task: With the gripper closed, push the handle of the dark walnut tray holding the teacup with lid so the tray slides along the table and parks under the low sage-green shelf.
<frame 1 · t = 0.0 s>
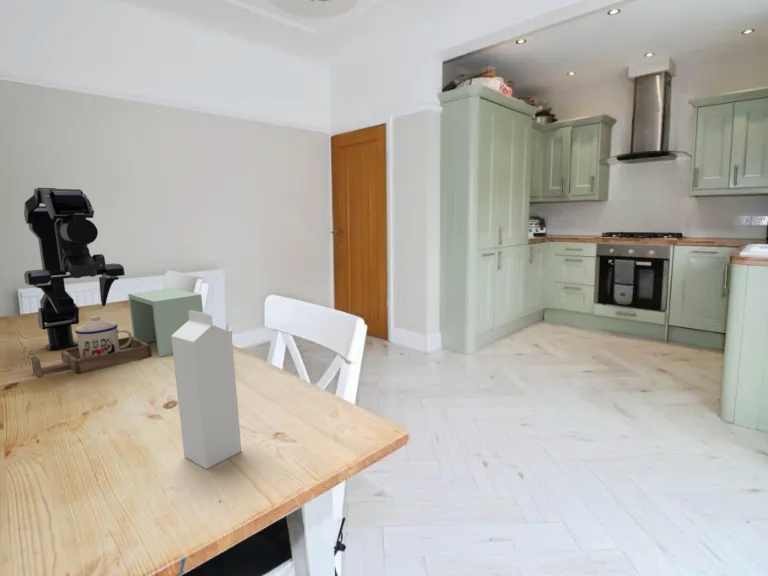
hand: (81, 309, 104), 15 cm above the table, tool pointing down, fingers open, 9 cm apart
tray: (91, 354, 110), point 2 cm above the table, slide at 0.0 cm
milk: (213, 455, 66), on the table
shelf: (169, 345, 124), on the table
teacup with lid: (107, 359, 113), resting in tray
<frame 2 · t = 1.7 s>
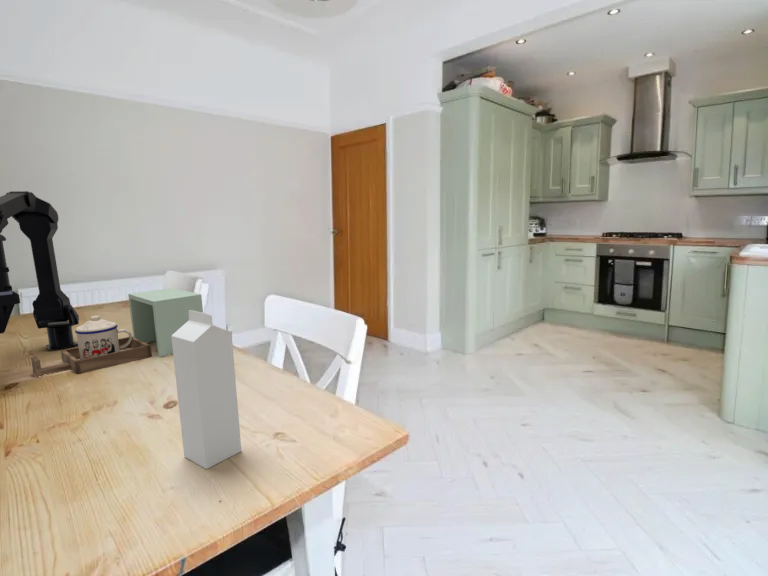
hand: (1, 333, 97), 11 cm above the table, tool pointing down, fingers closed
nothing on the table moved.
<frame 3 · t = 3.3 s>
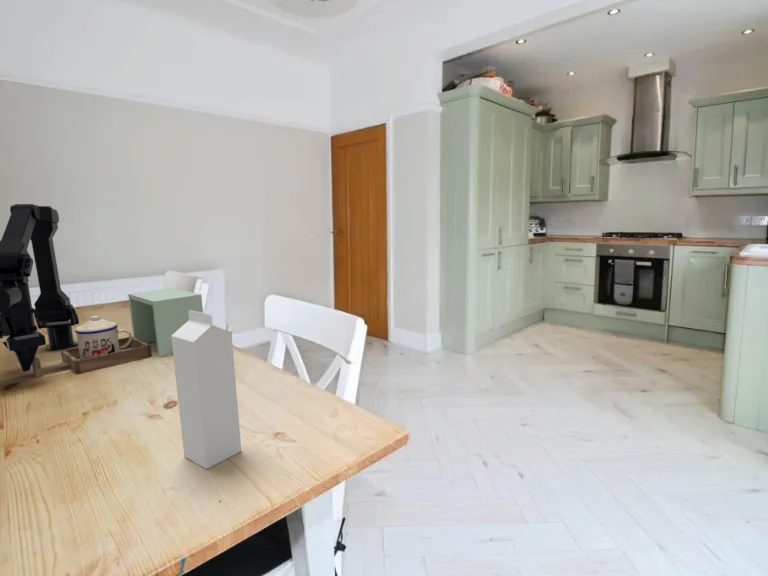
hand: (26, 370, 101), 1 cm above the table, tool pointing down, fingers closed, pressing on tray
tray: (91, 354, 110), point 2 cm above the table, slide at 0.0 cm, touching gripper
everything else where it was.
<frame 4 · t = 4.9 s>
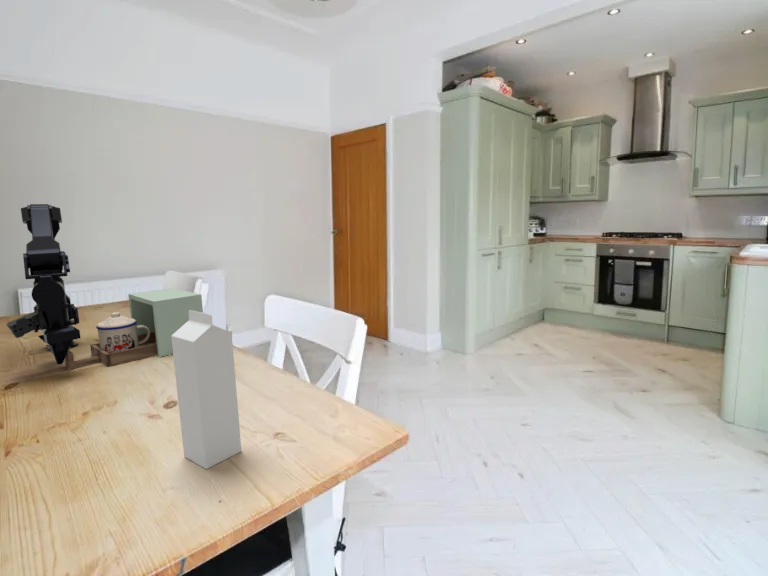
hand: (60, 363, 106), 1 cm above the table, tool pointing down, fingers closed, pressing on tray
tray: (120, 348, 115), point 2 cm above the table, slide at 6.5 cm, touching gripper, teacup with lid
teacup with lid: (127, 355, 117), resting in tray
everything else where it was.
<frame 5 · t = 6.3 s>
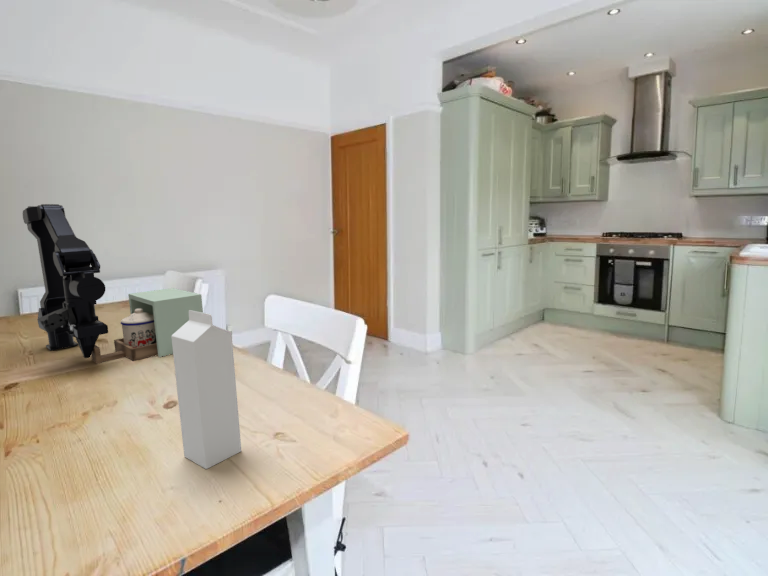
hand: (87, 357, 110), 1 cm above the table, tool pointing down, fingers closed, pressing on tray
tray: (142, 343, 119), point 2 cm above the table, slide at 12.1 cm, touching gripper, teacup with lid
teacup with lid: (149, 350, 121), resting in tray
everything else where it was.
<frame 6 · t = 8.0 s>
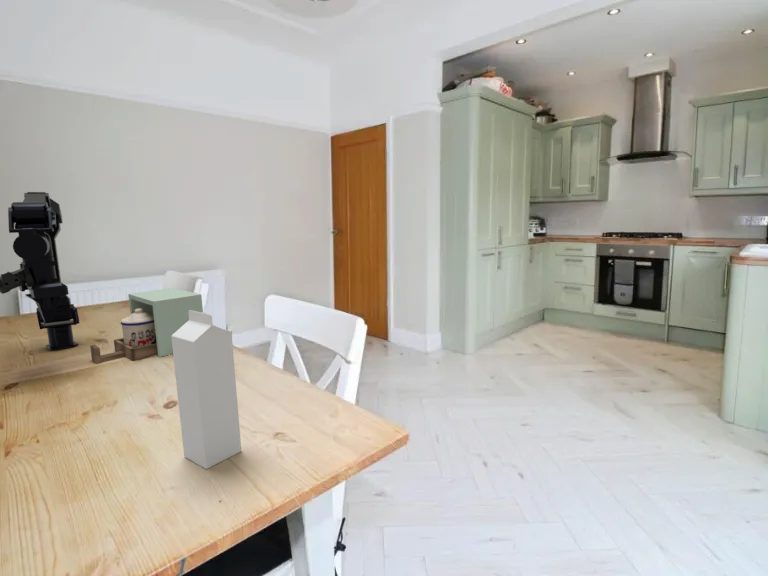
hand: (48, 322, 103), 12 cm above the table, tool pointing down, fingers closed
tray: (142, 343, 119), point 2 cm above the table, slide at 12.0 cm
teacup with lid: (149, 350, 121), resting in tray
everything else where it was.
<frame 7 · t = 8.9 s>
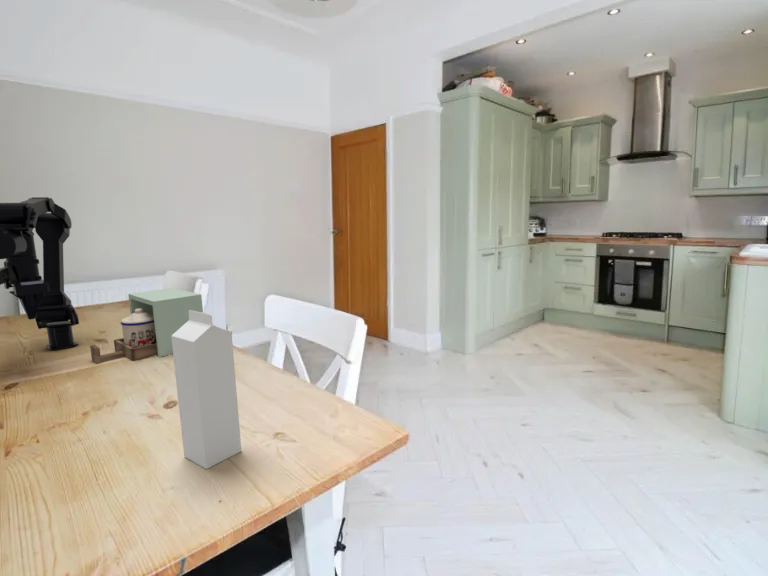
hand: (31, 319, 107), 12 cm above the table, tool pointing down, fingers closed
nothing on the table moved.
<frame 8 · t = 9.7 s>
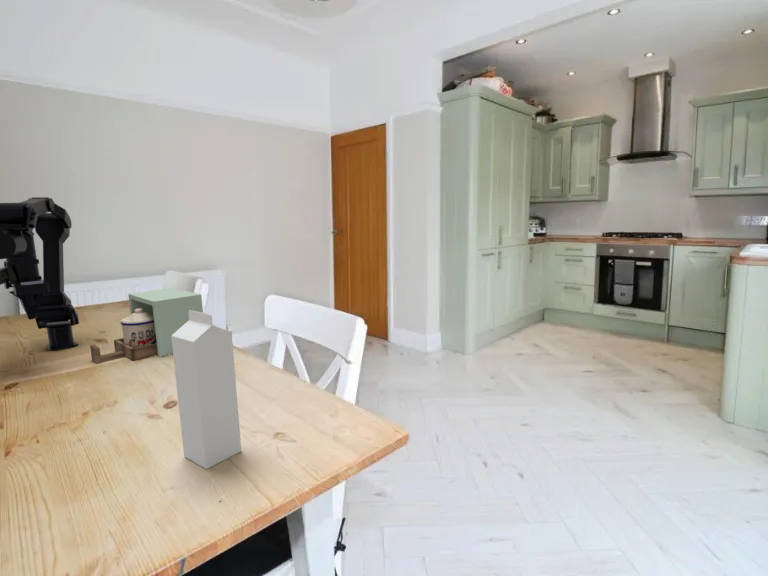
hand: (31, 319, 107), 12 cm above the table, tool pointing down, fingers closed
nothing on the table moved.
at the end: tray slide at 12.0 cm; teacup with lid inside the target area (3.2 cm from its centre), resting in tray; teacup with lid tilted 0° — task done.
